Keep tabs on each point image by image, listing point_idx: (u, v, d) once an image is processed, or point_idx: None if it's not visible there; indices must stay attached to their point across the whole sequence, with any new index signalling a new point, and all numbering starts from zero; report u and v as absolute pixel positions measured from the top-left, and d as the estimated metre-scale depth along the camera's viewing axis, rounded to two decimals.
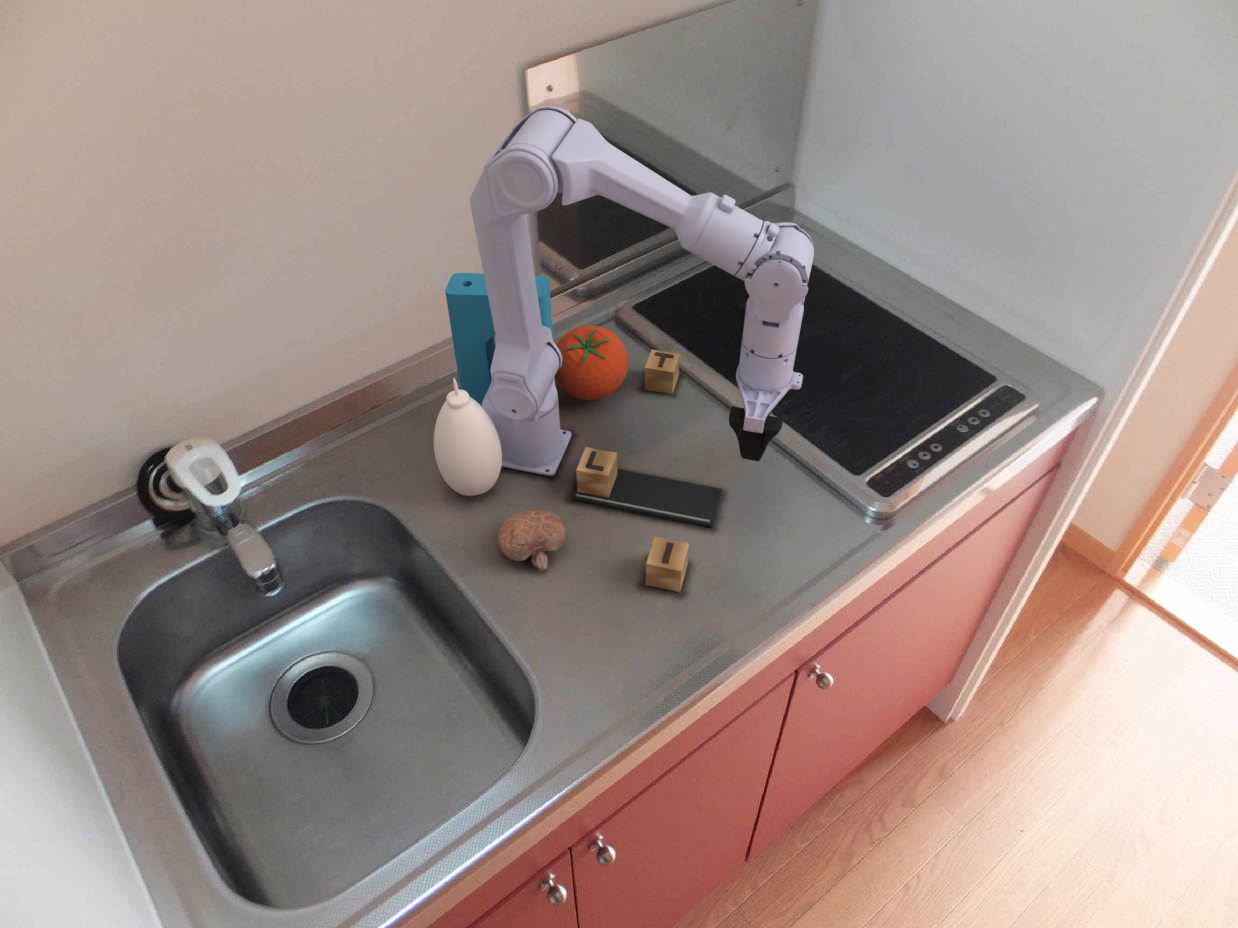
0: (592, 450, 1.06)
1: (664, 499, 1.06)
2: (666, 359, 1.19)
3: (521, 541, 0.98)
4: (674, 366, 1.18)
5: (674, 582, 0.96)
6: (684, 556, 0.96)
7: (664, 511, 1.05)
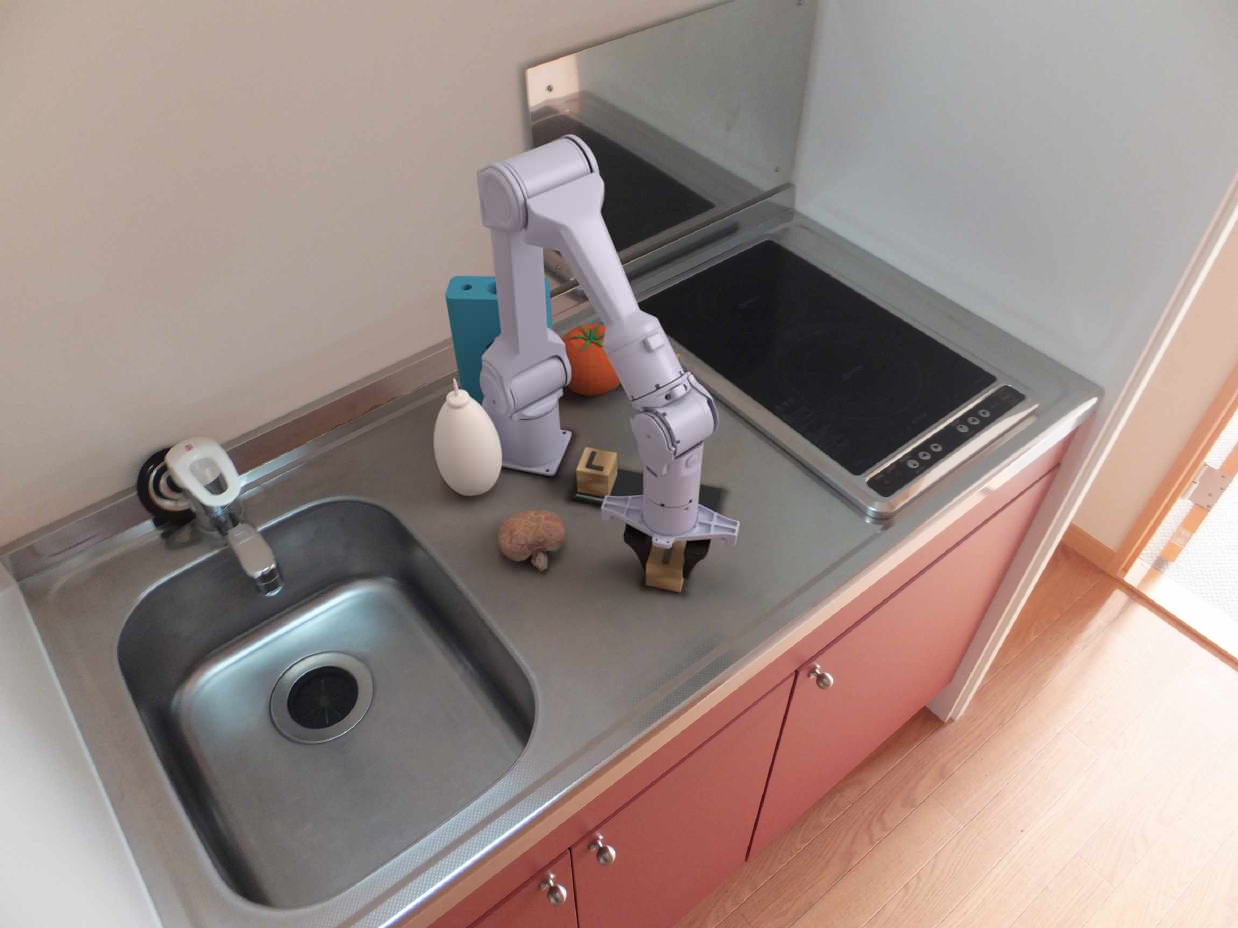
0: (592, 450, 1.06)
1: None
2: None
3: (521, 541, 0.98)
4: None
5: (674, 582, 0.96)
6: None
7: None
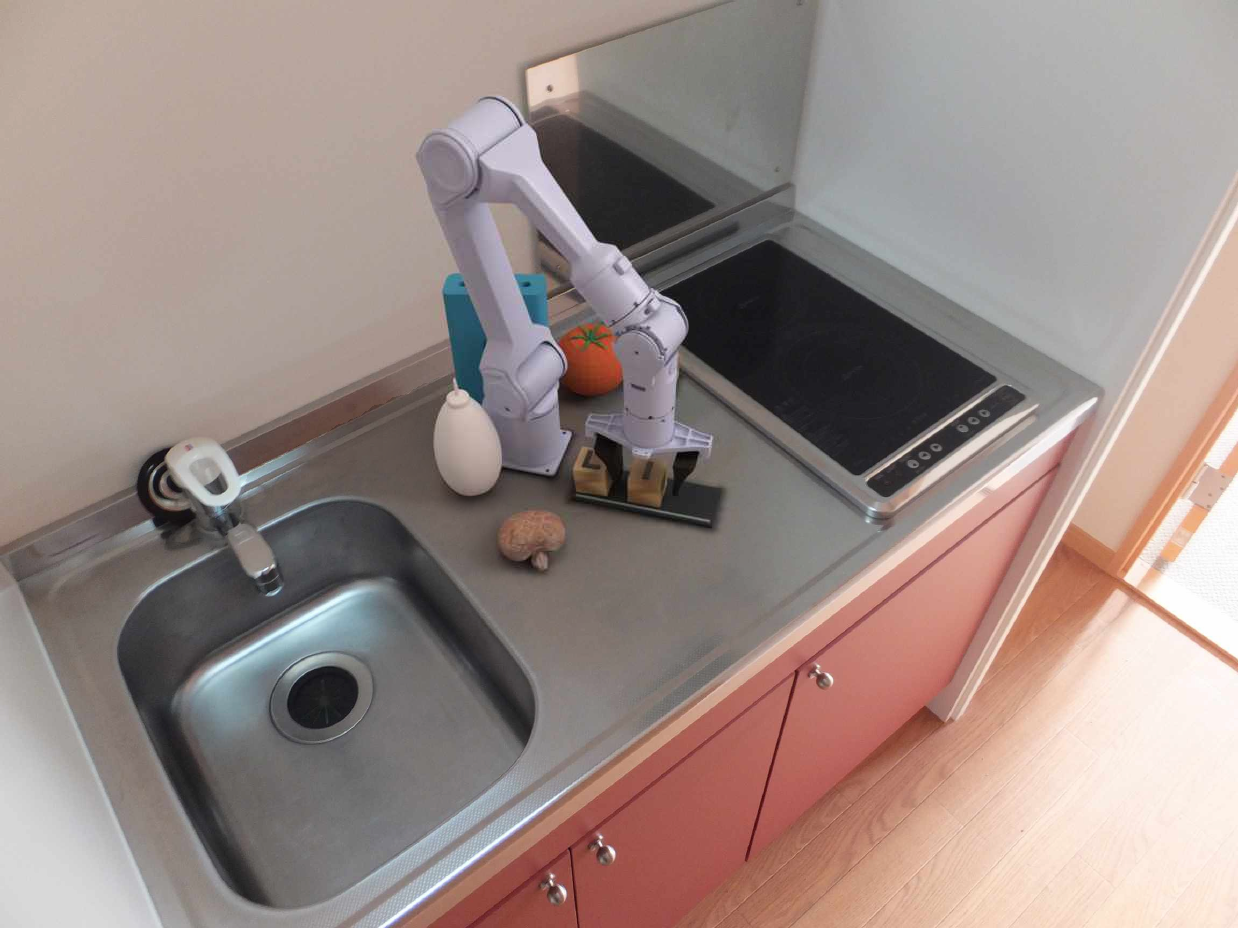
0: (588, 449, 1.06)
1: (664, 499, 1.06)
2: None
3: (521, 541, 0.98)
4: None
5: (654, 497, 1.04)
6: (663, 473, 1.04)
7: (664, 511, 1.05)
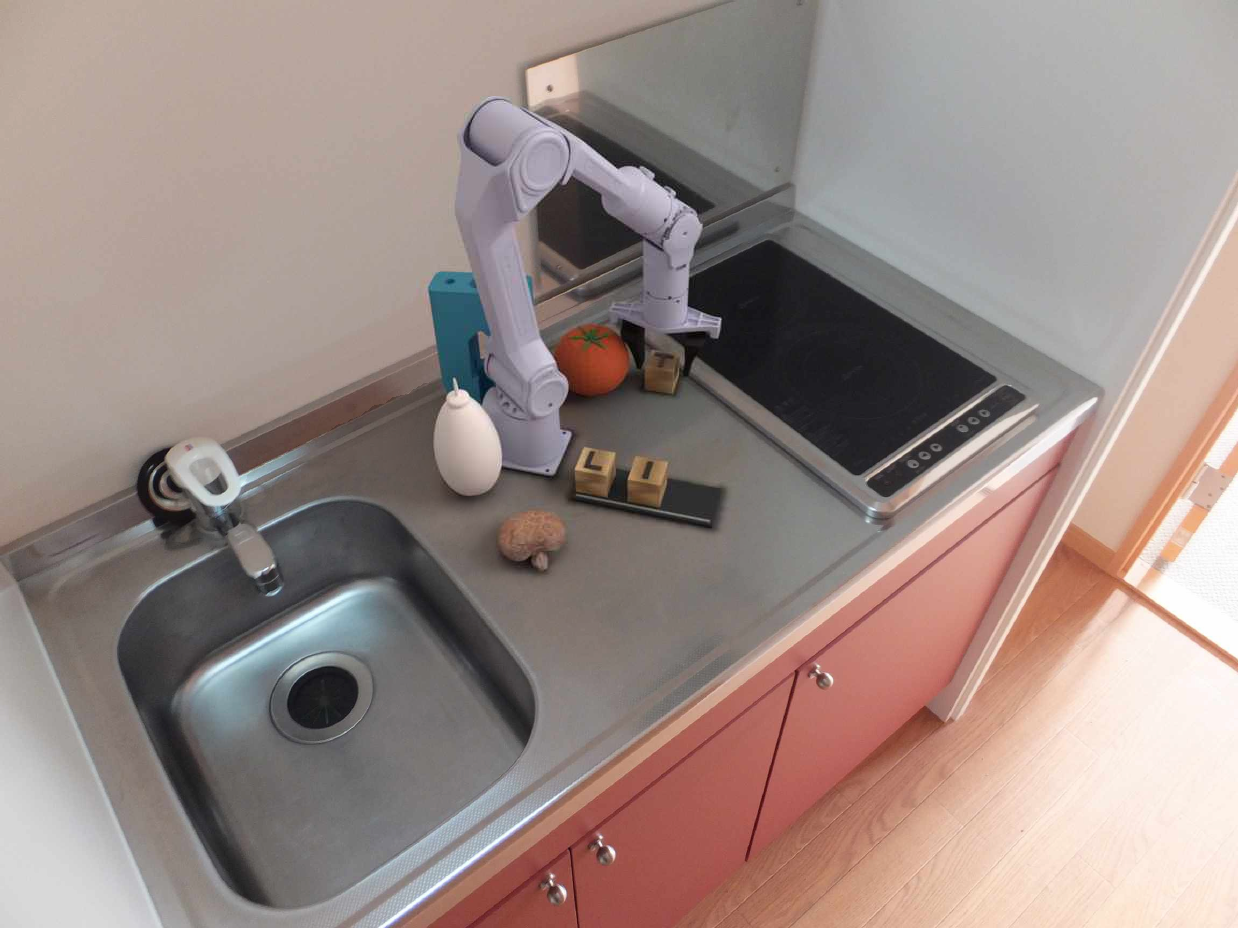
0: (590, 450, 1.06)
1: (664, 499, 1.06)
2: (666, 359, 1.19)
3: (521, 541, 0.98)
4: (674, 366, 1.18)
5: (654, 497, 1.04)
6: (663, 473, 1.04)
7: (664, 511, 1.05)
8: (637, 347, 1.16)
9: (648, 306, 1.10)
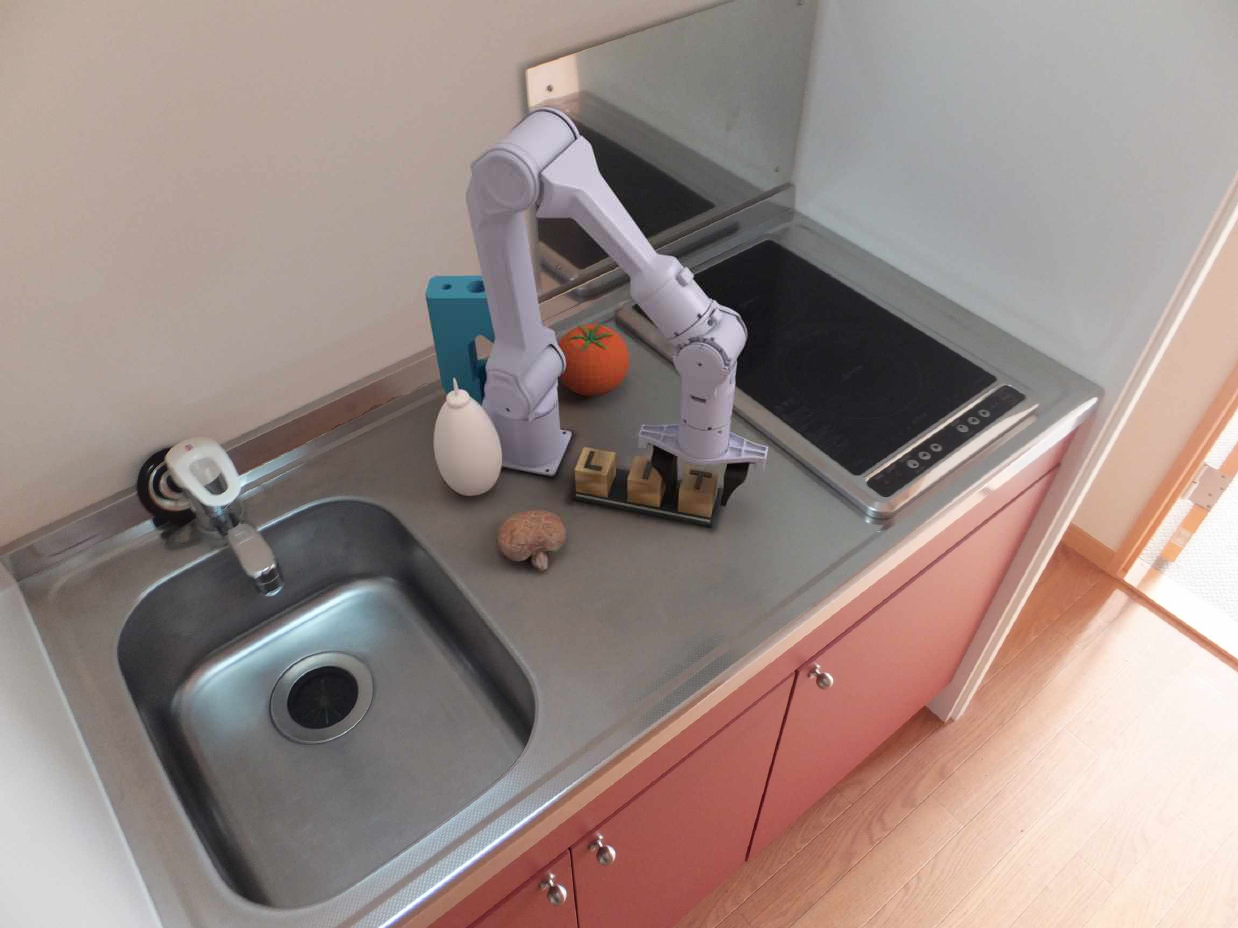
0: (590, 450, 1.06)
1: (664, 499, 1.06)
2: (703, 478, 1.03)
3: (521, 541, 0.98)
4: (713, 488, 1.02)
5: (654, 497, 1.04)
6: None
7: (664, 511, 1.05)
8: (670, 475, 1.01)
9: (684, 435, 0.95)
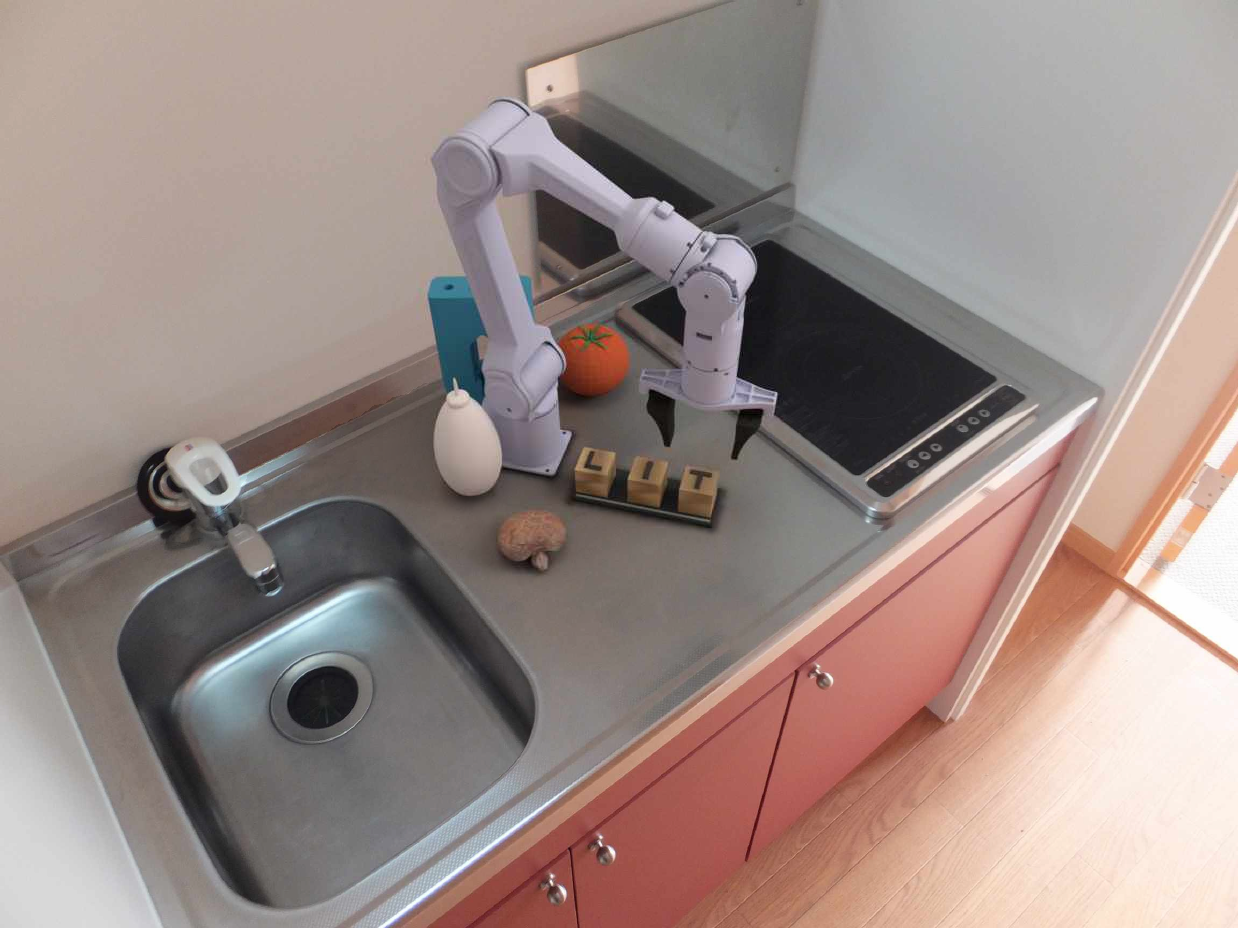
0: (590, 450, 1.06)
1: (664, 499, 1.06)
2: (703, 478, 1.03)
3: (521, 541, 0.98)
4: (713, 488, 1.02)
5: (654, 497, 1.04)
6: (663, 473, 1.04)
7: (664, 511, 1.05)
8: (666, 423, 0.95)
9: (688, 378, 0.89)
